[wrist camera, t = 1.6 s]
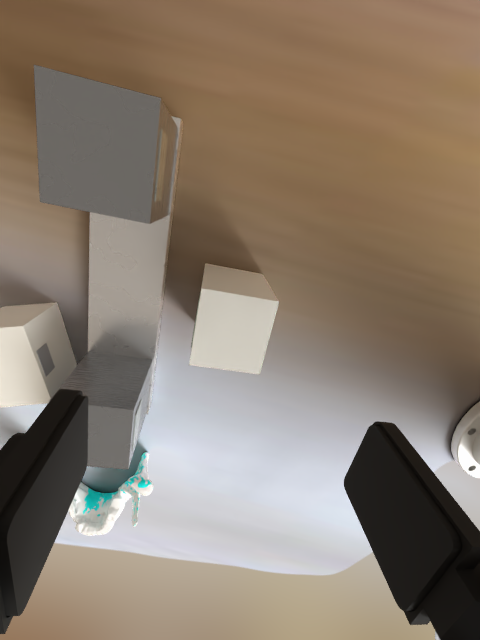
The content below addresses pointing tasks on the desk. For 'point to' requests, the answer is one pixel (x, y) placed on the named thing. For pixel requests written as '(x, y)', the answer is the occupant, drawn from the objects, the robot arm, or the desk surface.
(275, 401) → the desk surface
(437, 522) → the robot arm
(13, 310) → the block
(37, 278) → the desk surface
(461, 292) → the desk surface
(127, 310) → the rail
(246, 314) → the block
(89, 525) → the jawbone
